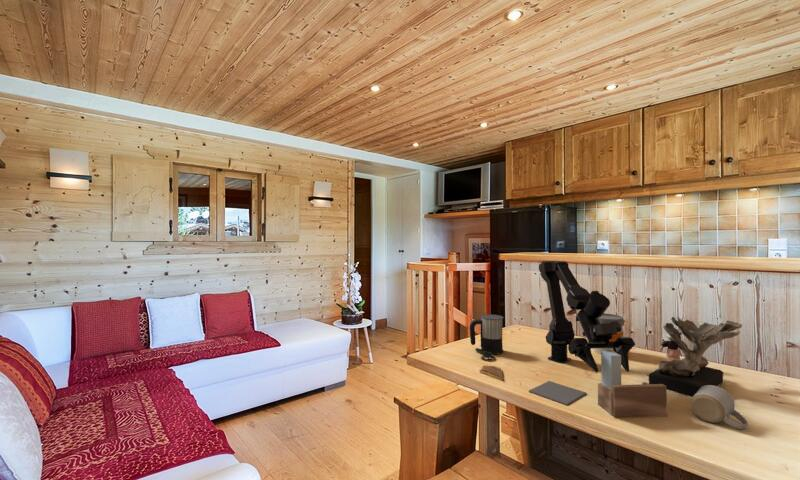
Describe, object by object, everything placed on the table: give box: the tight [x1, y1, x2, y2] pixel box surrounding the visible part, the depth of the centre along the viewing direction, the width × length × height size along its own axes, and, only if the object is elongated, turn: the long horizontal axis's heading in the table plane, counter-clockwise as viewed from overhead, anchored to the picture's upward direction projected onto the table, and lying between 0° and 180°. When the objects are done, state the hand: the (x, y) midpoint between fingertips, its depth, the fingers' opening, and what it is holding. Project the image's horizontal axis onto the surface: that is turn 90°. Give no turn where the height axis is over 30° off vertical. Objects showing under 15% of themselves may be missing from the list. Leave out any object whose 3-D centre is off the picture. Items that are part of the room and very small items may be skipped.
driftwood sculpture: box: [648, 316, 743, 398], centre depth 116 cm, size 25×20×22 cm
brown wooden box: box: [597, 381, 668, 419], centre depth 100 cm, size 8×14×8 cm, turn 92°
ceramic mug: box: [690, 385, 749, 430], centre depth 93 cm, size 11×8×8 cm
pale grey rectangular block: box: [600, 350, 622, 388], centre depth 108 cm, size 5×3×13 cm, turn 2°
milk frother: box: [469, 313, 504, 360], centre depth 149 cm, size 14×16×15 cm
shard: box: [479, 364, 504, 381], centre depth 127 cm, size 11×8×2 cm
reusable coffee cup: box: [593, 313, 625, 355], centre depth 150 cm, size 13×13×15 cm
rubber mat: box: [528, 380, 587, 406], centre depth 111 cm, size 12×12×1 cm
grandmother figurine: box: [659, 333, 684, 361], centre depth 134 cm, size 8×4×13 cm, turn 65°
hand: (612, 371), depth 108 cm, fingers open, 9 cm apart
